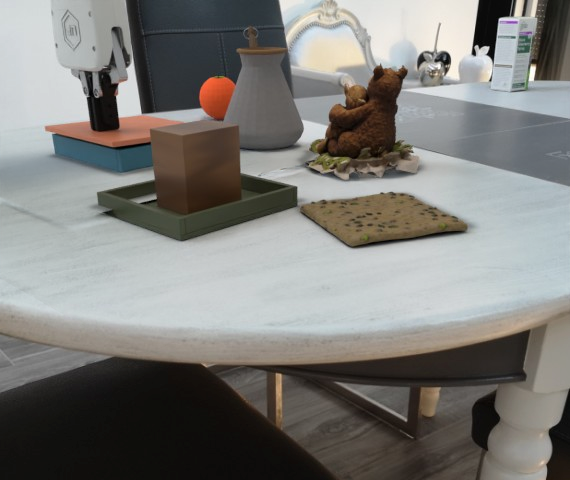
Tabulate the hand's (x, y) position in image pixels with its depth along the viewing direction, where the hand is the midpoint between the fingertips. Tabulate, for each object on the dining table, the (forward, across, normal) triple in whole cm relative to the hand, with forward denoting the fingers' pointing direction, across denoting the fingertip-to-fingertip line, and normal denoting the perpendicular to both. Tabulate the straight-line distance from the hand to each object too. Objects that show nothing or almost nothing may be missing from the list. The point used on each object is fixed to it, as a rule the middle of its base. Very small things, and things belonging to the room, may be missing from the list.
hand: (105, 129), depth 83 cm
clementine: (+4, -16, +33) cm, 37 cm away
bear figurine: (+5, +24, +21) cm, 32 cm away
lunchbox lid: (+1, 0, +4) cm, 4 cm away
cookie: (+4, +40, +4) cm, 40 cm away
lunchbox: (+4, 0, +4) cm, 6 cm away
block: (+4, +24, -5) cm, 25 cm away
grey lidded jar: (+4, +4, +23) cm, 24 cm away
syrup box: (+5, +3, +101) cm, 101 cm away
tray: (+4, +24, -5) cm, 25 cm away
